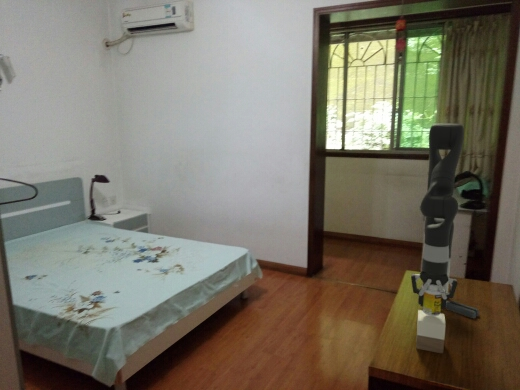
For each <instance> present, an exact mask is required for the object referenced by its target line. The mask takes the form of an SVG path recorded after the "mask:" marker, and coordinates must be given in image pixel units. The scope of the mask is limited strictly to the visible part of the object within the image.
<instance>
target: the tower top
mask: <svg viewBox="0 0 520 390" xmlns="http://www.w3.org/2000/svg"><path fill="white" fill-rule="evenodd" d="M416 324H417V325H416V335H420V336H426V337H431V338H437V339H442V340H444V341H445V338H446V337H445V336H446V318H445V313H442V312H441V313H440V315H438V316H430V315H427V314H425V313H424V312H423V311H422V309H418V310H417V323H416Z"/></svg>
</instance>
